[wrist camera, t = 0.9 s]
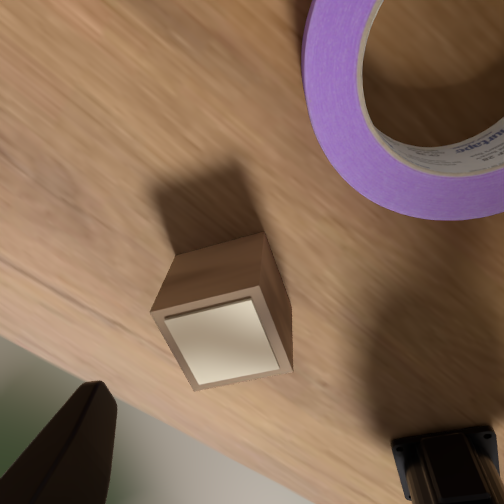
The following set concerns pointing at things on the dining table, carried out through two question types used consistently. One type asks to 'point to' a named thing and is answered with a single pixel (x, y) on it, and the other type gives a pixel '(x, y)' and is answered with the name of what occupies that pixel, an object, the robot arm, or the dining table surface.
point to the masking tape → (378, 144)
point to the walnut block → (226, 314)
